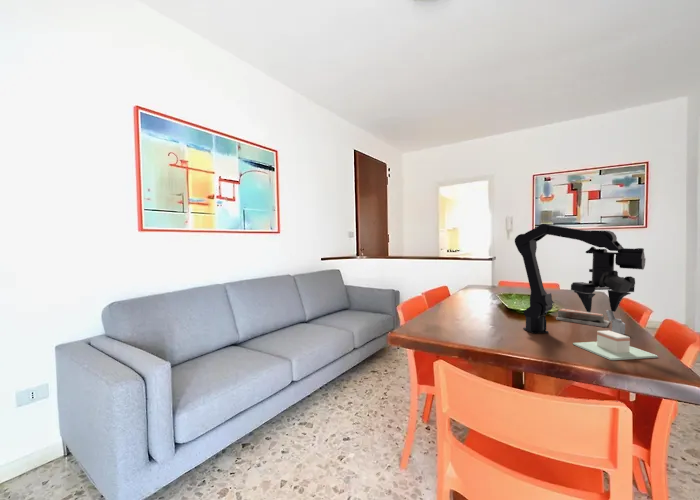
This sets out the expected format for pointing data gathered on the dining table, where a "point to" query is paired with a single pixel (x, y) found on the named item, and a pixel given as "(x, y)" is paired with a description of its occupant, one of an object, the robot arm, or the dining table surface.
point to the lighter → (616, 323)
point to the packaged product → (582, 317)
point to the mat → (611, 355)
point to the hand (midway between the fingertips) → (601, 311)
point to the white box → (613, 341)
